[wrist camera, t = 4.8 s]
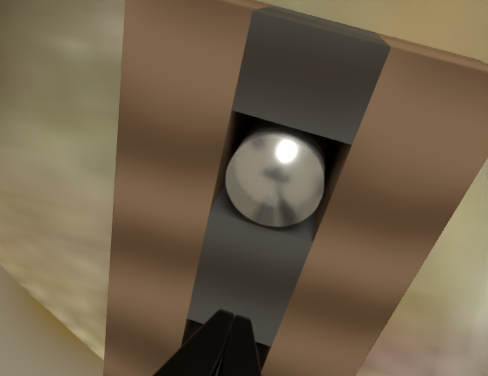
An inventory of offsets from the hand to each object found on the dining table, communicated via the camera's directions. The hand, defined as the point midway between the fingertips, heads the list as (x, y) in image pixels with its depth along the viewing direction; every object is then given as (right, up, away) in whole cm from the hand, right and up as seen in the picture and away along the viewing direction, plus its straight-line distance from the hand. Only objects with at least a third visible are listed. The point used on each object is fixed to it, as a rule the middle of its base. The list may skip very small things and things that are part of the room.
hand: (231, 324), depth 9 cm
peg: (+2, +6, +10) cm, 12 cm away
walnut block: (+1, +1, +13) cm, 13 cm away
